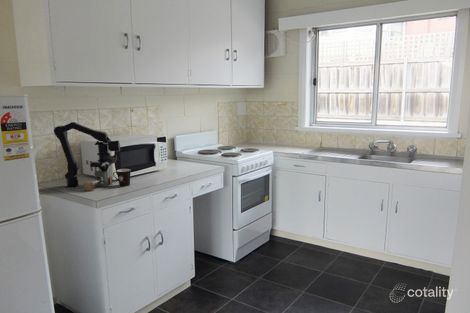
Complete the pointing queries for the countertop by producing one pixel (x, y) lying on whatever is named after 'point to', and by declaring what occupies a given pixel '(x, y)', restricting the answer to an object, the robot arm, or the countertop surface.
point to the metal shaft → (89, 185)
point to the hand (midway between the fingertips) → (105, 175)
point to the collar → (105, 178)
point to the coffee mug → (123, 177)
